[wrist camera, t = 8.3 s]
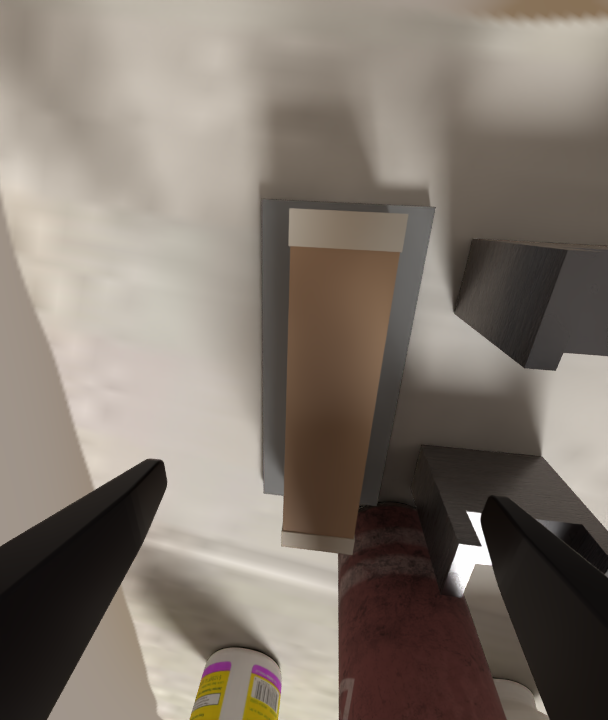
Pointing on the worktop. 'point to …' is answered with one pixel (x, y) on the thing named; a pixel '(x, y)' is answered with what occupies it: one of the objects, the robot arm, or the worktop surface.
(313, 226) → the rail
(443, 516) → the post
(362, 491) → the mat
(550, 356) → the post
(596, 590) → the robot arm
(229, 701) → the supplement bottle
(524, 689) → the teacup
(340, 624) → the can
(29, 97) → the worktop surface
